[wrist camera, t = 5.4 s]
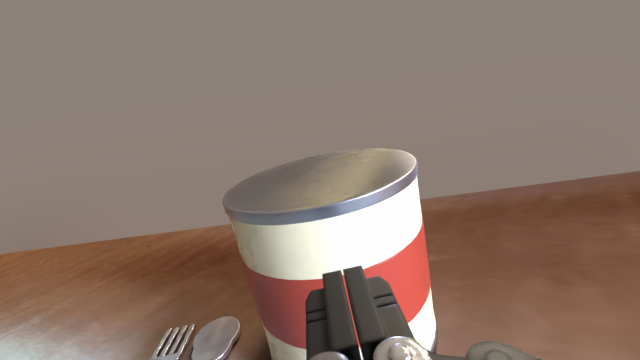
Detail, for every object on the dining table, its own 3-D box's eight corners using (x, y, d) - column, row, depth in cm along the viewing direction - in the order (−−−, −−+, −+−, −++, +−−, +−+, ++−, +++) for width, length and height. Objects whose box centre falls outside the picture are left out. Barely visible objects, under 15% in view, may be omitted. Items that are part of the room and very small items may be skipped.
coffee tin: (236, 357, 23) (183, 205, 20) (330, 265, 33) (304, 152, 30) (394, 453, 15) (350, 224, 12) (457, 294, 25) (442, 143, 22)
